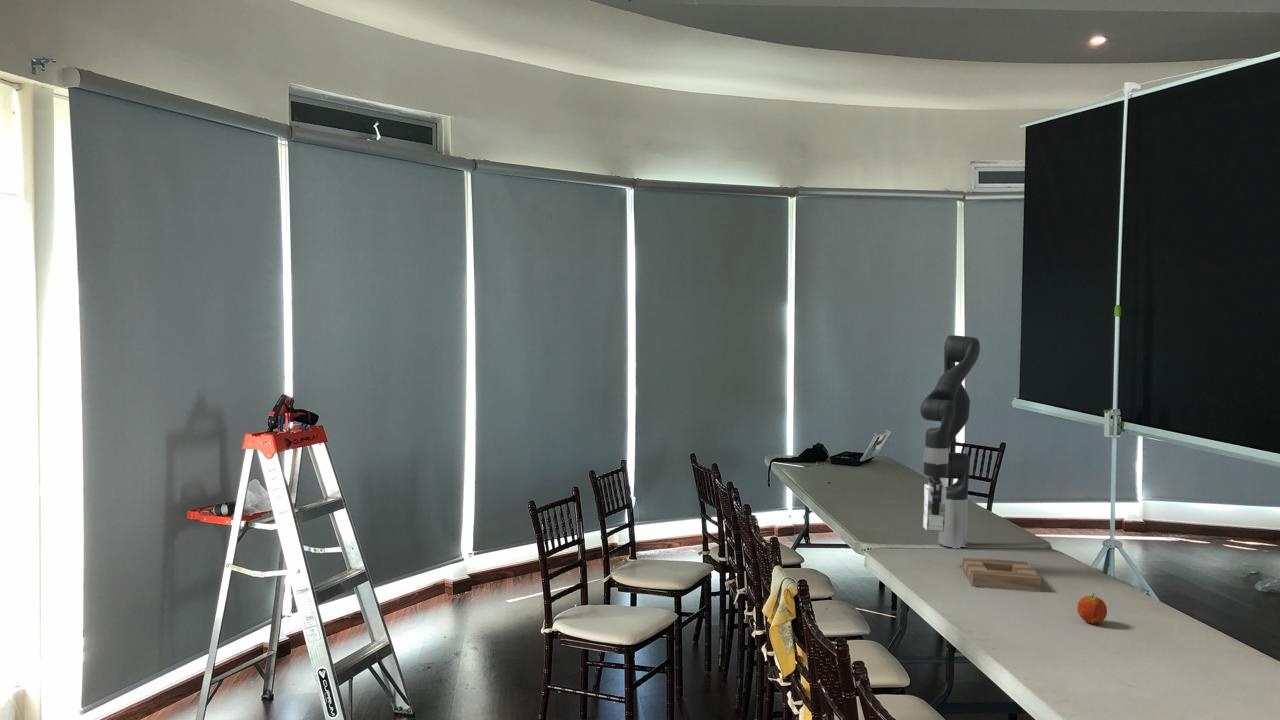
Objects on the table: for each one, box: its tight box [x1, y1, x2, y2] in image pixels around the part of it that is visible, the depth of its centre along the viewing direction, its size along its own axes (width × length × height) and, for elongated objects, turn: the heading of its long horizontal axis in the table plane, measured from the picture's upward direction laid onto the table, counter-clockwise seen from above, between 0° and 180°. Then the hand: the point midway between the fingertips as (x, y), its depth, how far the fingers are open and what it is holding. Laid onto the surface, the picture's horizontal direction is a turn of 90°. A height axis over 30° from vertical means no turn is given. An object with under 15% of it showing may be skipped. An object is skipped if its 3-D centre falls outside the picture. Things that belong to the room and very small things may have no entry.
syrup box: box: [922, 483, 946, 532], centre depth 284 cm, size 6×6×14 cm
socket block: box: [961, 557, 1042, 592], centre depth 269 cm, size 19×19×4 cm
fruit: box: [1076, 592, 1108, 625], centre depth 230 cm, size 7×7×8 cm
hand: (934, 512), depth 284 cm, fingers closed on syrup box, 6 cm apart
